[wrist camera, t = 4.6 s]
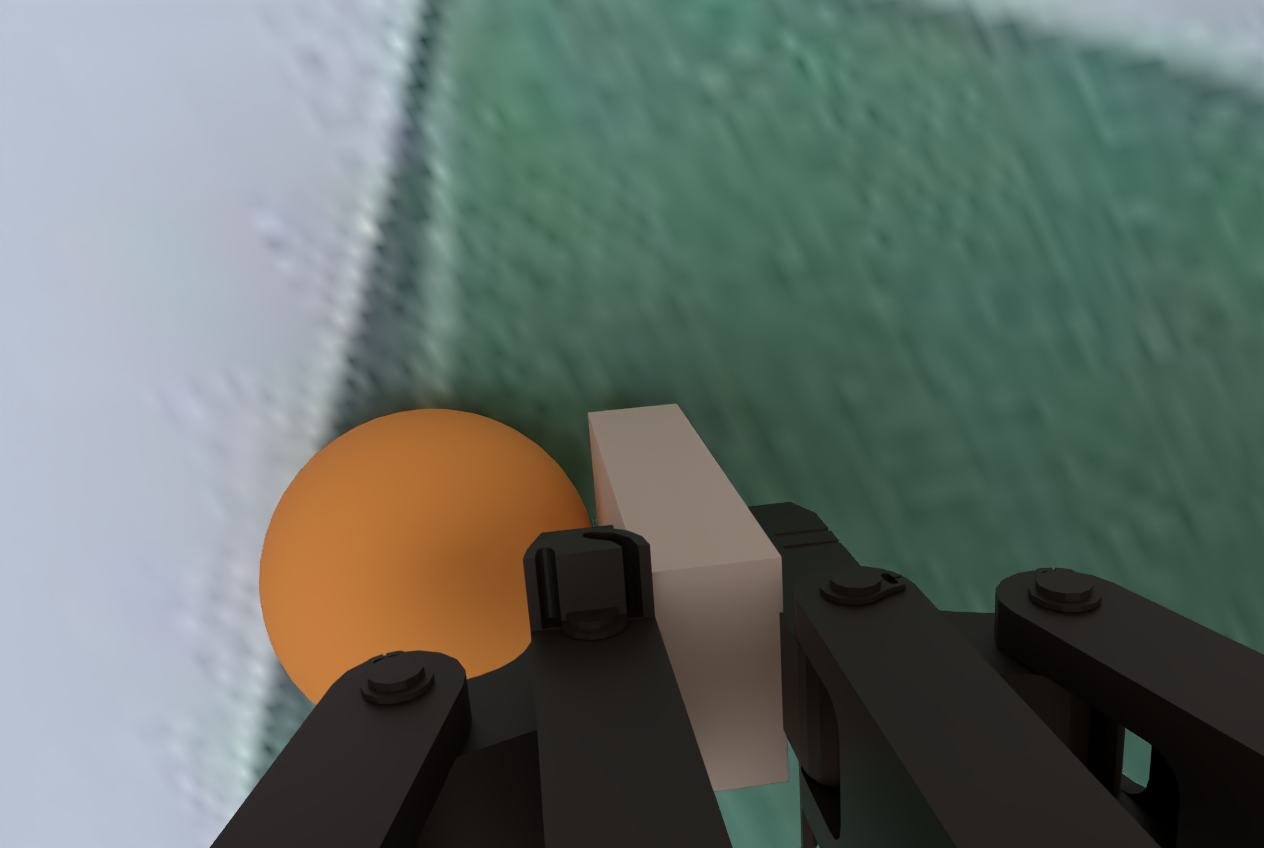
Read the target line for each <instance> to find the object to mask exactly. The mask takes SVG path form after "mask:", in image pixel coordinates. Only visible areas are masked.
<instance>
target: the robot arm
mask: <svg viewBox="0 0 1264 848" xmlns="http://www.w3.org/2000/svg"><path fill="white" fill-rule="evenodd" d="M588 421H589V433H590V445H591V456H592V468H593V480H594V491H595V503H596V515H597V526H596V527H587V528H579V529H570V530H561V531H552V532H543V533H541V534H540V535H539V536H538V537H537V538H536V539H535V540H534V542H533V543H532V544H531V545H530V546H529V547H528V548H527V550H526V552H525V555H524V557H523V567H524V576H525V585H526V594H527V603H528V613H529V622H530V631H531V642H530V644H529V645H528V647H527V648H526V650H525V651H524V652H523V653H522V654H520V655H519V656H518V657H517V658H516V659H514V660H513V661H511V662H509V663H508V664H506V665H504V666H502V667H500V668H498V669H496V670H493V671H490V672H488V673H485V674H482V675H479V676H476V677H473V678H470V679H467V677H466V670H465V669H464V668H463V666H462V665H461V663H460V662H459V661H458V659H455V658H453V657H451V656H448V655H446V654H443V653H441V652H431V651H421V650H416V651H407V652H404V651H394V652H389V653H386V655H383V654H381V655H378V656H375V657H372V658H370V659H369V660H368V661H366V662H364V663H362V664H360V665H358V666H356V667H354V668H352V669H350V670H348V671H346V672H345V673H344V674H343V675H342V676H341V677H340V678H339V679H337V680H336V681H335V682H334V683H333V684H332V685H331V686H330V688H329V689H328V690H327V692H326V693H325V695H324V696H323V697H322V699H321V700H320V701H319V703H318V704H317V705H316V707H315V708H314V709H313V711H312V712H311V713H310V715H309V716H308V717H307V719H306V720H305V721H304V723H303V724H302V725H301V727H300V728H299V729H298V731H297V732H296V733H295V735H294V736H293V737H292V739H291V740H290V741H289V743H288V744H287V745H286V747H285V748H284V749H283V751H282V752H281V753H280V755H279V756H278V757H277V759H276V760H275V761H274V763H273V764H272V765H271V767H270V768H269V769H268V771H267V772H266V773H265V775H264V776H263V777H262V779H261V780H260V781H259V783H258V784H257V785H256V787H255V788H254V789H253V791H252V792H251V793H250V795H249V796H248V797H247V799H246V800H245V801H244V803H243V804H242V805H241V807H240V808H239V809H238V811H237V812H236V813H235V815H234V816H233V817H232V819H231V820H230V821H229V823H228V824H227V825H226V827H225V828H224V829H223V831H222V832H221V833H220V835H219V836H218V837H217V839H216V840H215V841H214V843H213V844H212V845H211V847H210V848H732V845H731V842H730V839H729V836H728V833H727V830H726V827H725V824H724V821H723V818H722V815H721V812H720V809H719V806H718V803H717V800H716V797H715V794H714V792H717V791H724V790H731V789H738V788H745V787H752V786H759V785H766V784H773V783H781V782H788V781H789V775H788V744H787V738H788V740H789V742H790V744H791V746H792V748H793V750H794V752H795V755H796V757H797V759H798V761H799V777H800V812H801V847H802V848H816V846H817V845H819V847H820V848H1264V655H1263V654H1261V653H1259V652H1257V651H1254V650H1252V649H1250V648H1248V647H1246V646H1244V645H1242V644H1240V643H1238V642H1236V641H1234V640H1231V639H1229V638H1227V637H1225V636H1223V635H1221V634H1219V633H1217V632H1215V631H1213V630H1211V629H1208V628H1206V627H1204V626H1202V625H1200V624H1198V623H1196V622H1194V621H1192V620H1190V619H1188V618H1185V617H1183V616H1181V615H1179V614H1177V613H1175V612H1173V611H1171V610H1169V609H1167V608H1165V607H1162V606H1160V605H1158V604H1156V603H1154V602H1152V601H1150V600H1148V599H1146V598H1144V597H1142V596H1139V595H1137V594H1135V593H1133V592H1131V591H1129V590H1127V589H1125V588H1123V587H1121V586H1119V585H1116V584H1114V583H1112V582H1109V581H1106V580H1104V579H1101V578H1098V577H1095V576H1092V575H1088V574H1082V573H1077V572H1074V571H1073V570H1070V569H1065V568H1055V570H1053V569H1052V568H1039V569H1037V570H1036V571H1029V572H1022V573H1017V574H1015V575H1012V576H1010V577H1008V578H1005V579H1003V580H1002V581H1001V583H1000V584H999V585H998V586H997V588H996V595H995V613H975V612H952V611H940V610H938V609H937V608H936V607H935V606H934V605H933V603H932V602H931V601H930V600H929V599H928V598H927V597H926V596H925V595H924V594H923V593H922V592H921V591H920V590H919V588H918V587H917V586H916V585H915V584H914V583H912V582H911V581H909V580H908V579H906V578H905V577H903V576H902V575H900V574H896V573H895V572H892V571H887V570H884V569H880V568H872V567H864V566H860V565H859V564H858V562H857V561H856V560H855V559H854V558H853V556H852V555H851V554H850V553H849V552H848V551H847V549H846V548H845V547H844V546H843V545H842V544H841V543H839V542H838V539H837V538H836V537H835V535H834V534H833V533H832V532H831V531H828V527H827V526H826V525H825V524H824V523H823V521H822V520H821V519H820V518H819V517H818V516H817V514H816V513H814V512H812V511H809V510H807V509H805V508H803V507H800V506H798V505H796V504H794V503H791V502H785V503H776V504H767V505H758V506H750V507H747V506H746V504H745V503H744V501H743V500H742V498H741V497H740V496H739V494H738V493H737V491H736V490H735V488H734V487H733V485H732V484H731V482H730V481H729V479H728V478H727V476H726V475H725V474H724V472H723V471H722V469H721V468H720V466H719V465H718V463H717V462H716V460H715V459H714V457H713V456H712V454H711V453H710V452H709V450H708V449H707V447H706V446H705V444H704V443H703V441H702V440H701V438H700V437H699V435H698V434H697V432H696V431H695V430H694V428H693V427H692V425H691V424H690V422H689V421H688V419H687V418H686V416H685V415H684V413H683V412H682V411H681V409H680V408H679V406H678V405H677V404H667V405H657V406H647V407H637V408H627V409H617V410H608V411H598V412H588ZM1125 728H1127V729H1128V730H1130V731H1131V732H1133V733H1134V734H1136V735H1138V736H1139V737H1141V738H1142V739H1144V740H1146V741H1147V742H1149V743H1150V744H1151V745H1152V751H1151V763H1150V775H1149V781H1148V784H1147V787H1146V788H1145V787H1143V786H1141V785H1139V784H1136V783H1135V782H1133V781H1132V780H1130V779H1129V778H1127V777H1126V776H1125V775H1123V774H1122V766H1123V752H1124V739H1125Z"/></svg>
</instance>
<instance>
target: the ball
mask: <svg viewBox="0 0 1264 848" xmlns="http://www.w3.org/2000/svg"><path fill="white" fill-rule="evenodd" d="M587 527H592V525H591V521H590V518H589V516H588V513H587V510H586V508H585V506H584V503H583V501H582V499H581V497H580V495H579V493H578V492H577V490H576V488H575V487H574V485H573V484H572V482H571V481H570V479H569V478H568V476H567V475H566V474H565V472H564V471H563V469H562V468H561V467H560V466H559V465H558V464H557V462H556V461H555V460H554V459H553V458H552V457H551V456H549V455H548V454H547V453H546V452H545V451H544V450H543V449H542V448H541V447H540V446H539V445H538V444H536V443H535V442H533V441H532V440H530V439H529V438H527V437H526V436H524V435H523V434H521V433H520V432H518V431H517V430H515V429H513V428H511V427H509V426H507V425H505V424H502V423H500V422H498V421H496V420H493V419H491V418H488V417H484V416H481V415H478V414H474V413H470V412H463V411H456V410H449V409H418V410H410V411H403V412H398V413H394V414H390V415H386V416H383V417H379V418H376V419H373V420H371V421H368V422H366V423H364V424H362V425H359V426H357V427H355V428H353V429H352V430H350V431H348V432H347V433H345V434H343V435H342V436H340V437H338V438H337V439H335V440H334V441H332V442H331V443H330V444H328V445H327V446H326V447H325V448H323V449H322V450H321V451H320V452H318V453H317V454H316V455H315V456H314V457H313V458H312V459H311V460H310V461H309V462H308V463H307V464H306V465H305V466H304V467H303V468H302V469H301V470H300V472H299V473H298V474H297V476H296V477H295V479H294V480H293V481H292V483H291V484H290V486H289V487H288V488H287V490H286V491H285V492H284V494H283V496H282V498H281V500H280V502H279V504H278V506H277V507H276V509H275V511H274V513H273V516H272V519H271V522H270V525H269V527H268V530H267V533H266V536H265V540H264V545H263V550H262V555H261V560H260V578H259V593H260V602H261V608H262V613H263V618H264V622H265V626H266V629H267V632H268V635H269V638H270V641H271V644H272V646H273V649H274V651H275V653H276V655H277V657H278V659H279V661H280V662H281V664H282V665H283V667H284V668H285V670H286V672H287V673H288V675H289V676H290V678H291V679H292V681H293V682H294V683H295V684H296V685H297V686H298V688H299V689H300V690H301V691H302V692H303V693H304V694H305V695H306V697H307V698H308V699H309V700H310V701H312V702H313V703H314V704H315V705H317V704H318V703H319V701H320V700H321V699H322V697H323V696H324V695H325V693H326V692H327V690H328V689H329V688H330V686H331V685H332V684H333V683H334V682H335V681H336V680H337V679H339V678H340V677H341V676H342V675H343V674H344V673H345V672H346V671H348V670H350V669H352V668H354V667H356V666H358V665H360V664H362V663H364V662H366V661H368V660H369V659H370V658H372V657H375V656H378V655H381V654H383V655H386V653H389V652H394V651H404V652H407V651H416V650H421V651H431V652H441V653H443V654H446V655H448V656H451V657H453V658H455V659H458V661H459V662H460V663H461V665H462V666H463V668H464V669H465V670H466V677H467V679H470V678H473V677H476V676H479V675H482V674H485V673H488V672H490V671H493V670H496V669H498V668H500V667H502V666H504V665H506V664H508V663H509V662H511V661H513V660H514V659H516V658H517V657H518V656H519V655H520V654H522V653H523V652H524V651H525V650H526V648H527V647H528V645H529V644H530V642H531V631H530V622H529V613H528V603H527V594H526V585H525V576H524V567H523V557H524V555H525V552H526V550H527V548H528V547H529V546H530V545H531V544H532V543H533V542H534V540H535V539H536V538H537V537H538V536H539V535H540V534H541V533H543V532H552V531H561V530H570V529H579V528H587Z"/></svg>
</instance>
